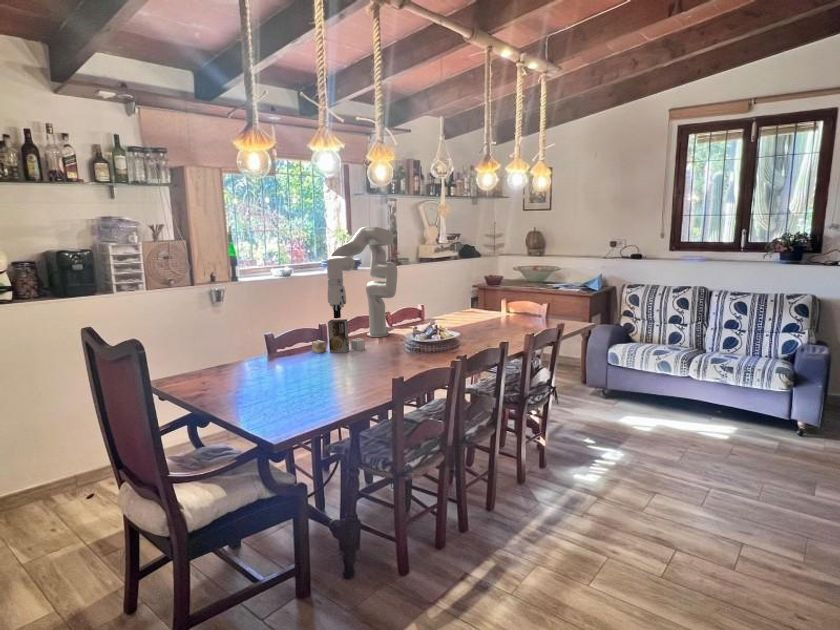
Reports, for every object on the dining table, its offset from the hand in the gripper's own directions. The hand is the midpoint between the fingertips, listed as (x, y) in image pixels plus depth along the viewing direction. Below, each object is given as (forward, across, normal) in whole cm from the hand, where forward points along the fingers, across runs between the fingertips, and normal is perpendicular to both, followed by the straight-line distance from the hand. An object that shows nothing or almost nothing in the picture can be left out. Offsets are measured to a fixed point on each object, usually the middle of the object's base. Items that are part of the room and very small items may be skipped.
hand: (337, 317), depth 272 cm
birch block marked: (+18, +8, +7) cm, 20 cm away
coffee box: (+18, 0, 0) cm, 18 cm away
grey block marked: (+17, -4, -9) cm, 20 cm away
